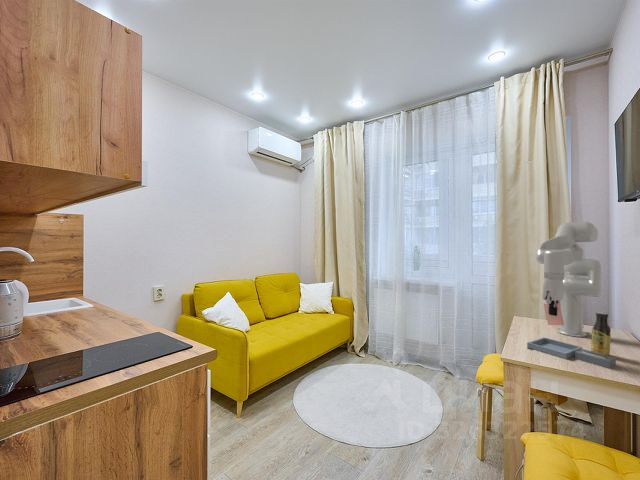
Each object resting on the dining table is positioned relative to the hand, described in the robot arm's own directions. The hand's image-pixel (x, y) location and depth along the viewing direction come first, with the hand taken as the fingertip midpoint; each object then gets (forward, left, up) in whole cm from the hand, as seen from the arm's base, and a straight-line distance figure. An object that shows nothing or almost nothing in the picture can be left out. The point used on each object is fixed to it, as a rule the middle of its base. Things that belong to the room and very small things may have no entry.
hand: (553, 314), depth 139 cm
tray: (0, 0, -18) cm, 18 cm away
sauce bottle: (-12, +13, -18) cm, 25 cm away
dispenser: (0, +15, -18) cm, 23 cm away
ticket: (0, +1, -5) cm, 5 cm away
